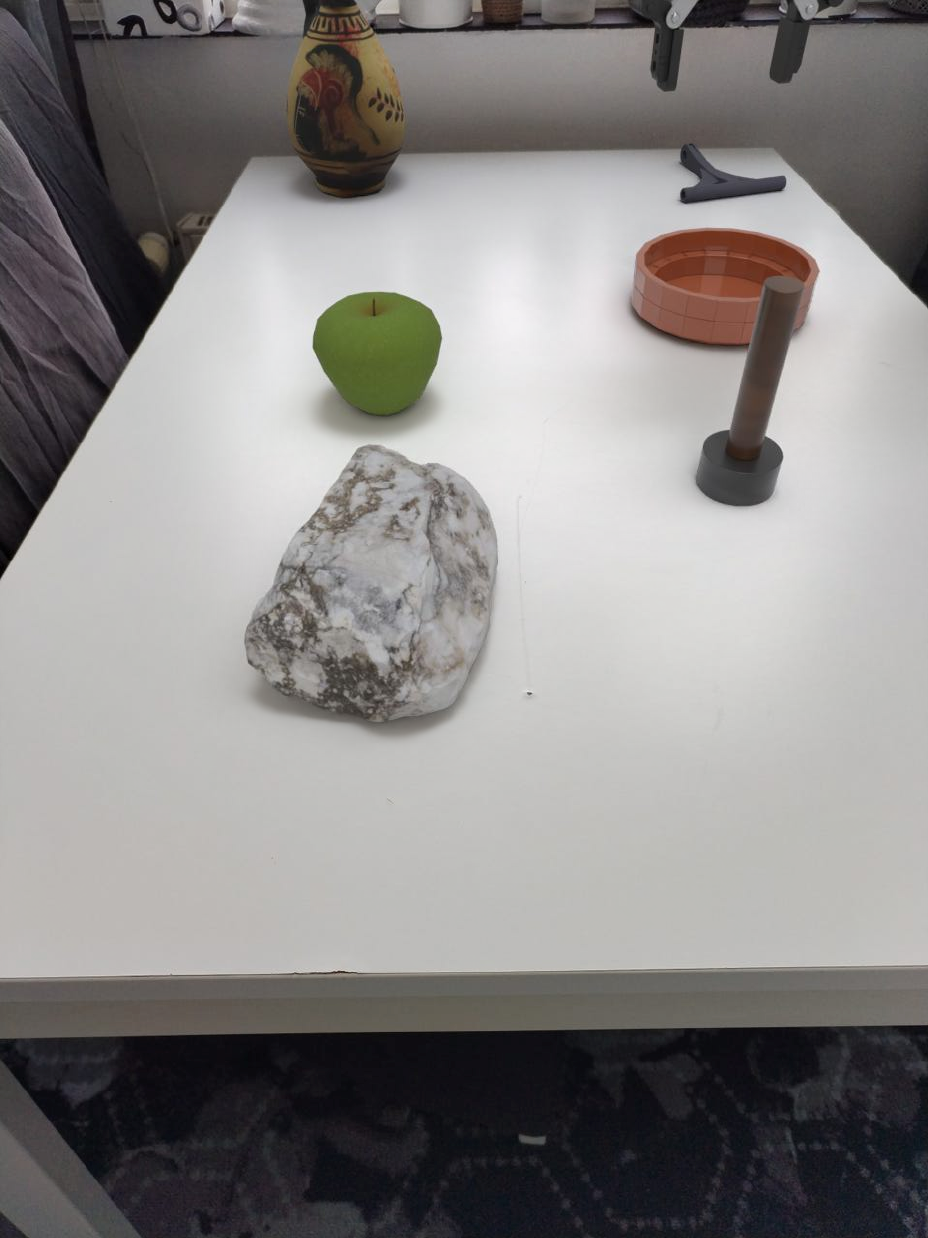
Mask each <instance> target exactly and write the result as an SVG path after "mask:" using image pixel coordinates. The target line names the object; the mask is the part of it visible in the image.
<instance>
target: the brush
mask: <svg viewBox="0 0 928 1238" xmlns="http://www.w3.org/2000/svg"><path fill="white" fill-rule="evenodd" d="M804 288H805V285H804V283H803V282H802V281H800V280H798V279H796V278H793V277H788V276H772V277H769V278H767V279H766V280H765V281H764V284H763V288H762V292H761V297H760V301H759V305H758V310H757V314H756V318H755V323H754V327H753V331H752V336H751V340H750V344H748V349H747V354H746V357H745V362H744V367H743V370H742V375H741V380H740V384H739V386H738V387H739V388H738V391H737V397H736V401H735V405H734V410H733V414H732V418H731V423H730V427H729V429H724V430H720V431H716V432H714V433H712V434H711V435H708V437H706V439H705V440H704V441H703V443H702V448H701V453H700V457H699V462H698V467H697V472H696V477H695V480H696V484H697V486H698V488H699V490H700V491H701V492H702V493H704V495H706V496H707V497H709V498H710V499H712V500H714V501H716V502H719V503H722V504H726V505H731V506H740V507H741V506H742V507H747V506H753V505H758V504H761V503H763V502H765V501H767V500H769V499H770V498H771V496H772V495H773V494H774V492H775V488H776V485H777V481H778V478H779V474H780V471H781V468H782V464H783V460H784V452H783V450H782V448H781V447H780V445H779V443H777V442H776V441H775V440H773V439H772V438H770V437H768V436H767V435H766V434H767V430H768V426H769V423H770V419H771V415H772V411H773V408H774V404H775V400H776V396H777V392H778V390H779V389H778V388H779V385H780V381H781V378H782V375H783V374H782V373H783V370H784V367H785V366H784V365H785V362H786V359H787V355H788V352H789V348H790V344H791V340H792V336H793V333H794V331H793V329H794V325H795V322H796V318H797V314H798V310H799V307H800V303H801V299H802V295H803V292H804Z"/></svg>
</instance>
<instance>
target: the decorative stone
mask: <svg viewBox="0 0 928 1238" xmlns="http://www.w3.org/2000/svg"><path fill="white" fill-rule="evenodd" d="M490 511H491V510H490V509H489V507H488V505H487V503H486V502H485V500H484V499H483V497H482V495H481V494H480V493H479V492H478V490H477V489H476V488H475V486H474V485H473V484H472V483H471V482H470V481H469V480H468V479H467V478H466V477H465V476H463V475H462V474H460V473H458V472H457V471H455V470H453V468H451V467H448V466H445V465H443V464H441V463H439V462H428V463H426V464H425V463H424V464H420V463H417V462H414V461H411V460H409V459H408V458H407V456H406V455H403V454H402V453H400V452H399V451H396V450H393V449H390V448H386V447H385V446H383V445H381V444H373V443H368V444H364V445H363V446H360V447H357V448H356V449H355V452H354V453H353V455H352V456H351V458H350V459H349V461H348V463H347V464H346V465H345V467H344V468H343V470H342V471H341V472H340V474H339V477H338V478H337V479H336V480H335V482H333V484H332V485H331V486H330V487H329V488H328V490H327V491H326V493H325V495H324V497H323V499H322V501H321V503H320V504H319V505H318V508H317V509H316V510H315V512H314V513H313V514H312V515H311V517H310V518H309V519H308V520H307V522H306V523H304V524H303V525H302V526H301V527H299V529H297V530H296V532H295V533H294V535H293V536H292V538H291V540H290V541H289V543H288V545H287V547H286V548H285V551H284V552H283V554H282V557H281V559H280V562H279V564H278V567H277V570H276V572H275V576H274V580H273V583H272V586H271V587H270V588H269V589H268V591H267V592H266V593H265V595H264V596H263V597H261V598H260V599H258V601H257V603H256V605H255V607H254V608H253V609H252V613H251V618H250V620H249V622H248V624H247V626H246V628H245V632H244V640H243V643H244V648H245V653H246V660H247V664H248V665H249V666H250V667H252V668H253V669H254V670H256V672H258V673H259V674H260V675H262V676H263V677H264V678H265V679H266V680H267V681H268V682H269V683H270V685H271V687H272V689H273V690H274V691H276V692H277V693H278V694H281V695H282V696H285V697H288V698H289V697H291V696H294V695H295V696H297V697H300V698H301V699H302V700H304V701H305V702H308V703H309V704H311V705H313V706H315V707H318V708H320V709H322V710H325V711H328V712H332V713H336V714H340V715H341V714H343V715H344V714H345V715H348V714H349V715H354V716H358V717H360V718H362V719H364V720H365V721H368V722H374V723H383V722H389V721H393V720H397V719H400V718H403V717H418V716H422V715H428V714H431V713H434V712H439V711H441V710H444V709H447V708H448V707H450V706H451V705H452V704H454V703H455V701H456V699H457V698H458V696H459V694H460V691H461V690H462V688H463V686H464V684H465V682H466V681H467V679H468V676H469V672H470V670H471V668H472V666H473V665H474V662H475V660H476V658H477V656H478V654H479V652H480V650H481V648H482V646H483V644H484V642H485V640H486V638H487V635H488V632H489V630H490V627H491V615H492V595H493V589H494V586H495V584H496V578H497V573H498V572H497V569H498V564H499V553H498V552H499V550H498V547H499V546H498V538H497V532H496V528H495V525H494V521H493V518H492V514H491V512H490Z"/></svg>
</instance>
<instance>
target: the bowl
mask: <svg viewBox="0 0 928 1238" xmlns="http://www.w3.org/2000/svg"><path fill="white" fill-rule="evenodd" d="M819 275H820V268H819V266H818V263H817V260H816V259H815V258H814V257H813V256H812V255H811V254H810V253H808V251H806V250H805V249H804V248H802V247H800V246H798V245H796V244H794V243H793V242H790V241H787V240H785V239H783V238H780V237H777V236H773V235H770V234H766V233H762V232H760V231H753V230H746V229H739V228H731V227H701V228H700V227H699V228H698V227H697V228H687V229H679V230H675V231H671V232H667V233H663V234H660V235H658V236H656V237H653V238H652V239H650V240H648V241H647V242H645V243H643V245H642V246H641V247H640V249H639V250H638V251H637V252H636V255H635V261H634V269H633V279H632V286H631V306H632V307H633V309H634V310H635V311H636V313H637V315H638V316H639V317H640V318H642V319H643V320H644V321H646V322H647V323H649V324H651V325H652V326H653V327H655V328H657V329H659V330H661V331H663V332H665V333H668V334H669V335H671V336H672V335H673V336H675V337H677V338H679V339H684V340H687V341H690V342H696V343H701V344H706V345H716V346H720V345H721V346H741V345H749V344H750V340H751V336H752V331H753V327H754V323H755V318H756V314H757V310H758V305H759V301H760V297H761V292H762V288H763V284H764V281H765V280H766V279H767V278H769V277H772V276H788V277H793V278H796V279H798V280H800V281H802V282H803V283H804V285H805V288H804V292H803V295H802V299H801V303H800V307H799V310H798V314H797V318H796V322H795V325H794V329H793V332H794V331H796V330H797V329H798V328H800V327H801V326H802V325H804V323H805V321H806V319H807V316H808V314H809V312H810V308H811V305H812V300H813V298H814V297H813V296H814V295H815V294H814V293H815V290H816V285H817V282H818V279H819Z"/></svg>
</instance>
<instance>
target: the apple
mask: <svg viewBox="0 0 928 1238" xmlns="http://www.w3.org/2000/svg"><path fill="white" fill-rule="evenodd" d="M442 334H443V333H442V330H441V325H440V323H439V321H438V319H437V317H436V315H435V314H434V312H433V310H432V309H431V308H430V307H429V306H426V305H425V304H424V303H422V302H421V301H419V300H417V299H414V298H412V297H410V296H407V295H404V294H400V293H398V292H389V291H364V292H359V293H354V294H350V295H349V294H348V295H347V296H345V297H343V298H341V299H339V300H337V301H336V302H334V303H333V304H332V305H330V306H329V307H327V308H326V309H325V310H324V312H322V313H321V315H319V317H318V318H317V319H316V324H315V327H314V330H313V334H312V350H313V352H314V354H315V357H316V358H317V360H318V363H319V365H320V367H321V369H322V371H323V373H324V374H325V376H326V377H327V378H328V380H329V381H330V383H331V384H332V385H333V387H334V388H335V390H336V391H337V392H338V394H339V395H340V396H341V398H343V399H344V401H345V402H347V403H348V404H349V405H351V406H353V407H356V408H357V409H359V410H361V411H364V412H365V413H366V414H367V413H368V414H369V415H373V416H374V415H375V416H378V417H379V416H380V417H381V416H382V417H384V416H386V417H387V416H392V415H395V414H398V413H399V412H401V411H402V410H404V409H406V408H407V407H409V406H410V405H412V404H413V403H415V402H417V401H418V400H420V399H421V397H422V396H423V393H424V392H425V391H426V388H427V386H428V384H429V382H430V379H431V377H432V375H433V373H434V371H435V369H436V367H437V364H438V360H439V355H440V352H441V346H442V342H443V341H442V340H443V335H442Z"/></svg>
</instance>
